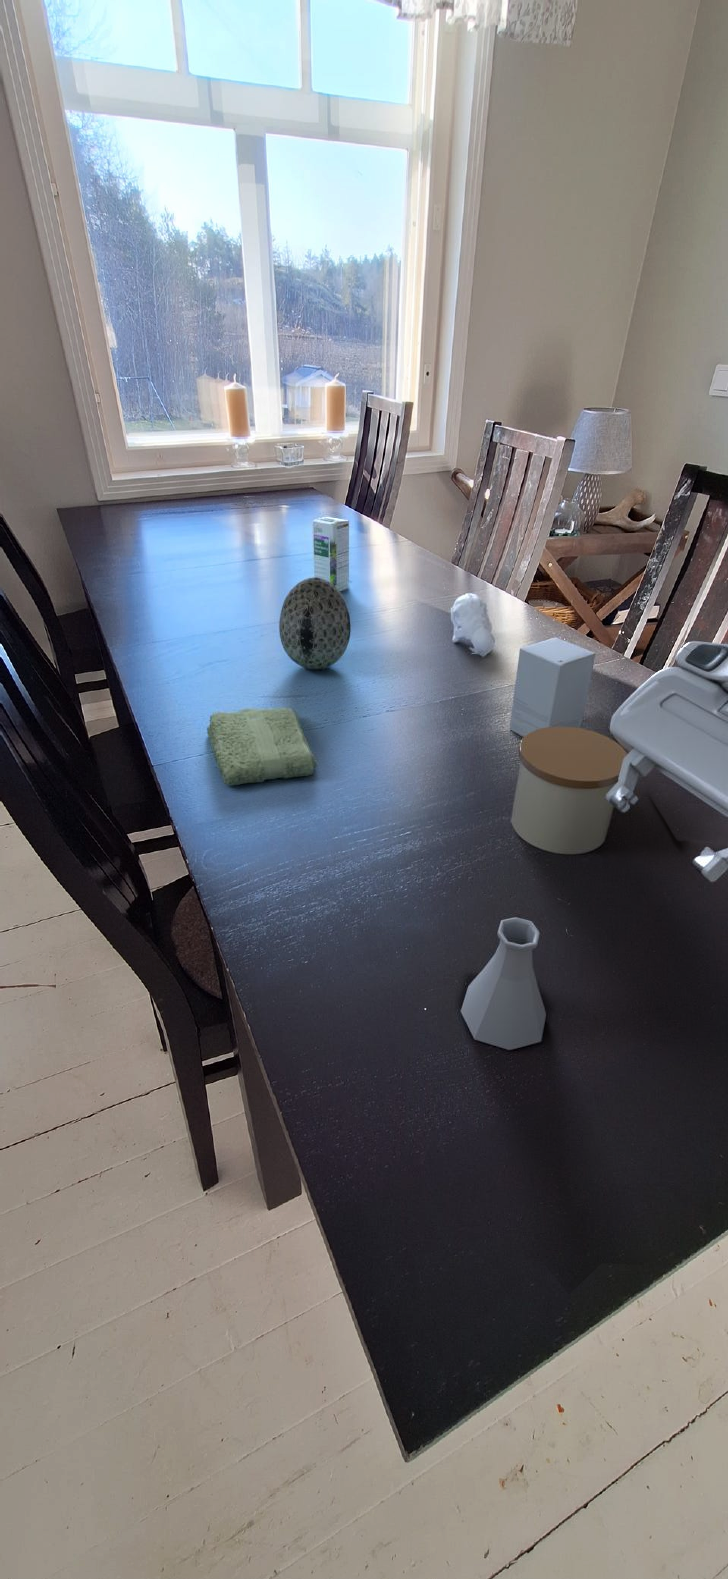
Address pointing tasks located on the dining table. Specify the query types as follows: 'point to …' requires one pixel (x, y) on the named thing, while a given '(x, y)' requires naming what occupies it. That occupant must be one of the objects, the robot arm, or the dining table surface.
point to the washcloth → (259, 745)
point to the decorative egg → (314, 624)
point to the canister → (565, 788)
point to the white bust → (472, 623)
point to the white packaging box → (551, 686)
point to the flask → (507, 991)
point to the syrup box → (331, 551)
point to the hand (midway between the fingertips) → (654, 837)
